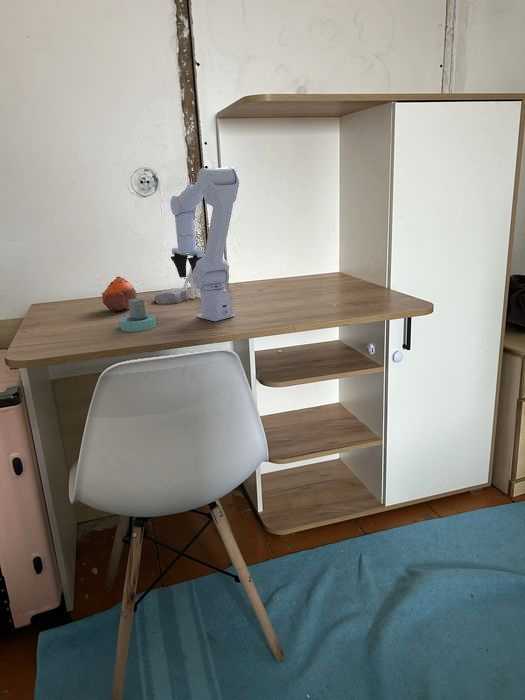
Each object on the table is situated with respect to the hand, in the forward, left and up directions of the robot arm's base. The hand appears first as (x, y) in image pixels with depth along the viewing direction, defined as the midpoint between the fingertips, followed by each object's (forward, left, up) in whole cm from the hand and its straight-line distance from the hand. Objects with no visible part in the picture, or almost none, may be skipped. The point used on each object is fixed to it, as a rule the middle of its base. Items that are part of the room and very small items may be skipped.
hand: (189, 278), depth 174 cm
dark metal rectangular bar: (-6, +24, -10) cm, 26 cm away
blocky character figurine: (+13, -11, -10) cm, 20 cm away
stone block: (+17, -4, -10) cm, 20 cm away
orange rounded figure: (+18, +16, -10) cm, 26 cm away
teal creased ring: (-6, +24, -10) cm, 27 cm away
